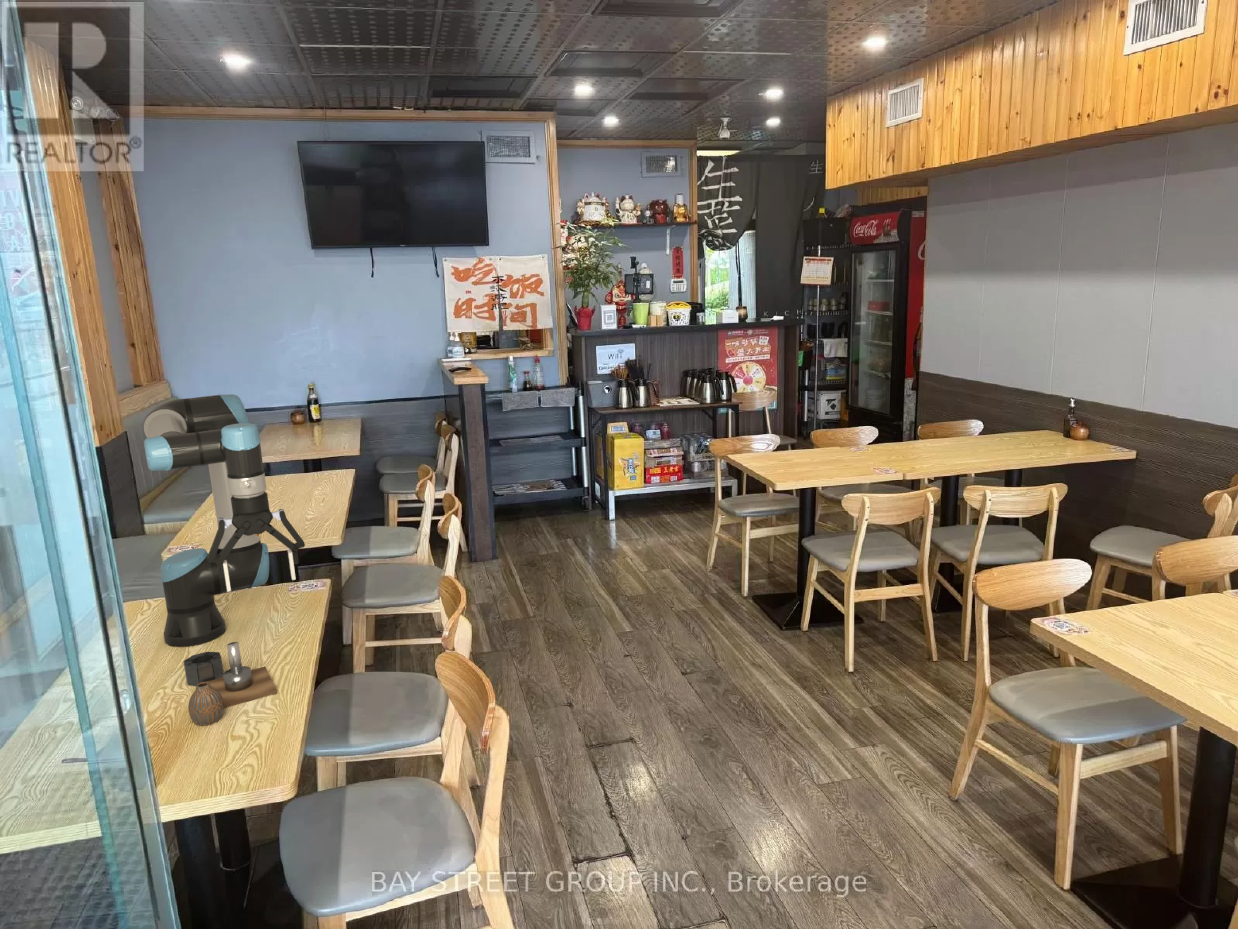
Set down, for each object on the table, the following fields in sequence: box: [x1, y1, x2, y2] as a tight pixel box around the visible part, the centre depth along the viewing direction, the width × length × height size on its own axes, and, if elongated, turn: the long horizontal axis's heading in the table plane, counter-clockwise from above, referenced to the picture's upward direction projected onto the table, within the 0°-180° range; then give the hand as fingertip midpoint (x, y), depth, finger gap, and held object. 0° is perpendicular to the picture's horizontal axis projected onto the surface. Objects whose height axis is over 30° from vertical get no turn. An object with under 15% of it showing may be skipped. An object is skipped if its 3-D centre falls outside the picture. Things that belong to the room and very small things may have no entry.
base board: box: [207, 666, 278, 709], centre depth 196 cm, size 14×14×1 cm
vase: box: [188, 682, 225, 726], centre depth 182 cm, size 7×7×9 cm
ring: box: [182, 651, 225, 687], centre depth 203 cm, size 8×8×5 cm
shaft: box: [223, 641, 253, 692], centre depth 195 cm, size 6×6×10 cm
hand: (261, 583), depth 189 cm, fingers open, 13 cm apart
